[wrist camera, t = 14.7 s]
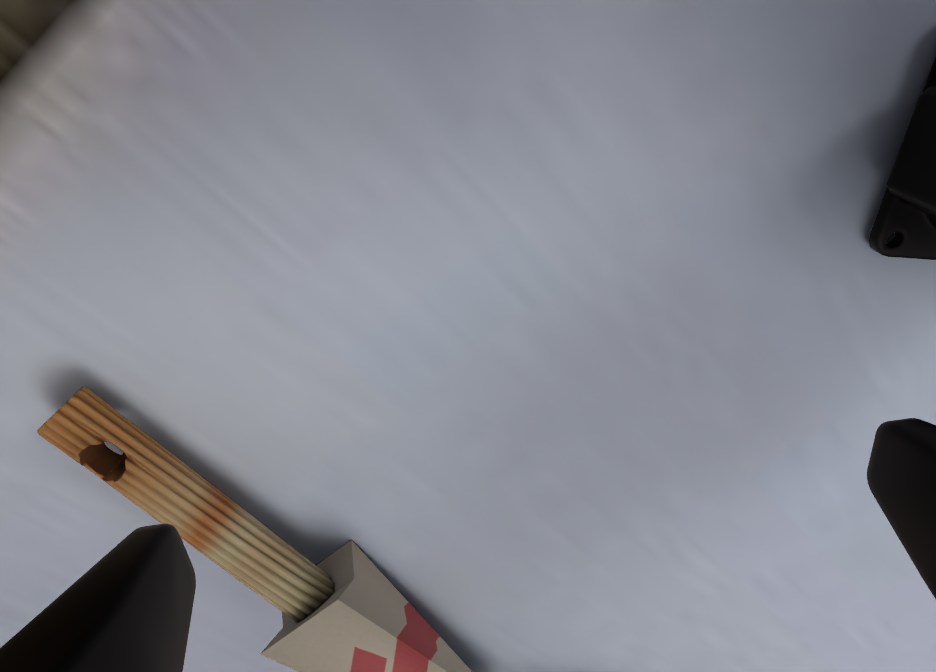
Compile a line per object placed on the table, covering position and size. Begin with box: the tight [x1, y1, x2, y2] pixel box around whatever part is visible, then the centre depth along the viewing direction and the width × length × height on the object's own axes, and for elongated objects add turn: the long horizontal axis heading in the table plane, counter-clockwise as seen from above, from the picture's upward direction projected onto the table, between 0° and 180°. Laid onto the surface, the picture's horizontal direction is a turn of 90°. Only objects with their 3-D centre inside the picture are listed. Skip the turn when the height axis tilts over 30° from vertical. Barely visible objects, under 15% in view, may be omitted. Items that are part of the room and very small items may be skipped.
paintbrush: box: [37, 387, 472, 672], centre depth 23 cm, size 4×3×20 cm
